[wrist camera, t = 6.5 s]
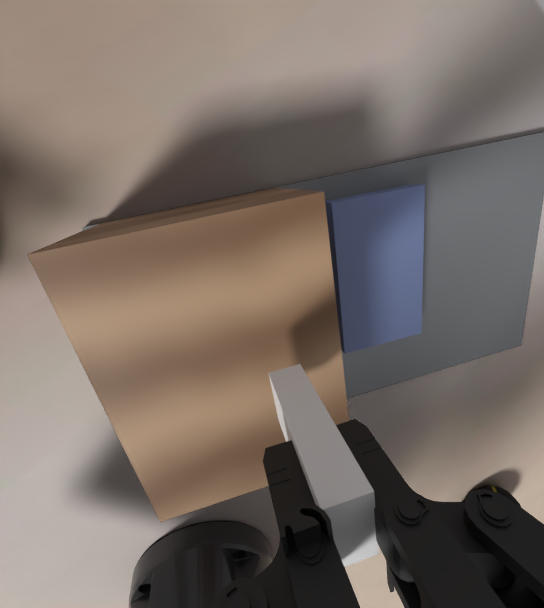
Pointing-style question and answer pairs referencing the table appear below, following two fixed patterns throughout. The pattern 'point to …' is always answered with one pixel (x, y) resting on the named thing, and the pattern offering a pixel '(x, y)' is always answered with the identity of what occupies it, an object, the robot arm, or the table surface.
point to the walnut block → (201, 333)
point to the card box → (377, 264)
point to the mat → (457, 254)
